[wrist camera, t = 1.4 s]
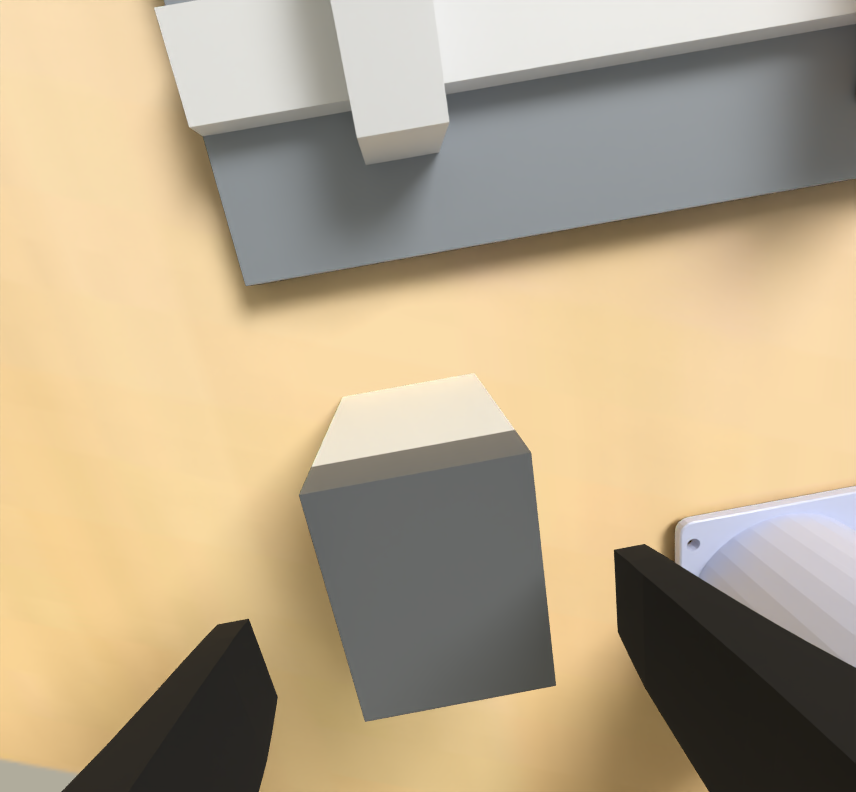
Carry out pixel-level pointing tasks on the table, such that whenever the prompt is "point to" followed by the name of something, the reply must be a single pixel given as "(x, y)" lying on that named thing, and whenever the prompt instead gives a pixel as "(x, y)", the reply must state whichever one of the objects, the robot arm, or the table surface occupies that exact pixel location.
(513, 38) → the backplate
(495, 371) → the table surface
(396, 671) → the block
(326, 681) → the table surface
